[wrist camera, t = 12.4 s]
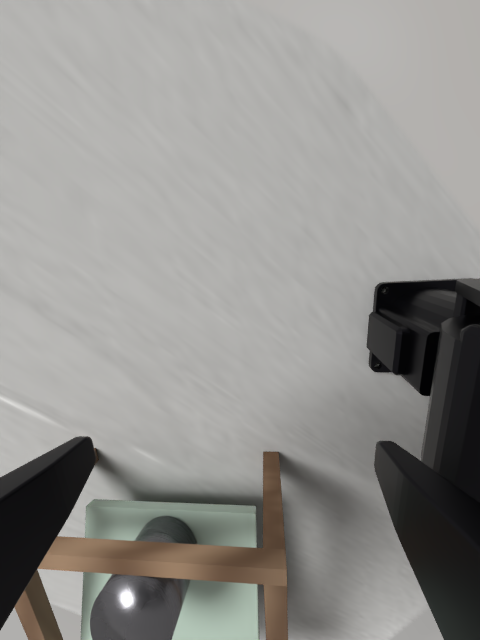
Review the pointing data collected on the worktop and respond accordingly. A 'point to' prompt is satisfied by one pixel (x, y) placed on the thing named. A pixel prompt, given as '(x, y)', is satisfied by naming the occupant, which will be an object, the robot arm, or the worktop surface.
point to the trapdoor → (202, 596)
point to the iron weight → (143, 594)
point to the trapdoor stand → (174, 564)
